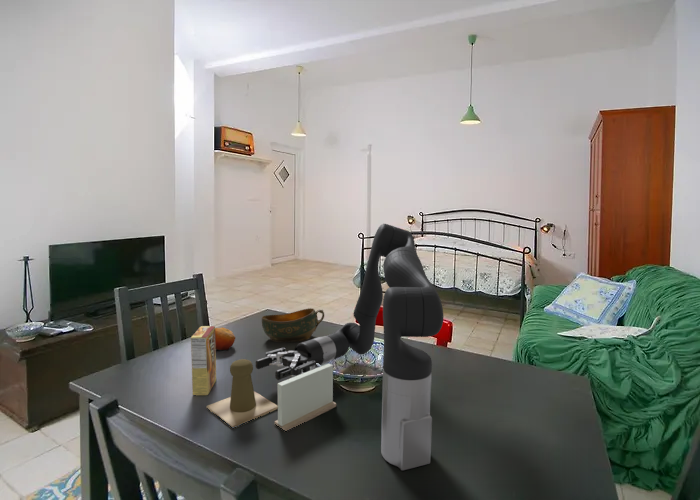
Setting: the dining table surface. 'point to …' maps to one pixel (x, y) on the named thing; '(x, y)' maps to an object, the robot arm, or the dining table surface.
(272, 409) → the board
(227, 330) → the fruit
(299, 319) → the green gravy boat
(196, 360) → the candy box
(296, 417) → the screen
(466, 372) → the dining table surface
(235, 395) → the pepper mill
